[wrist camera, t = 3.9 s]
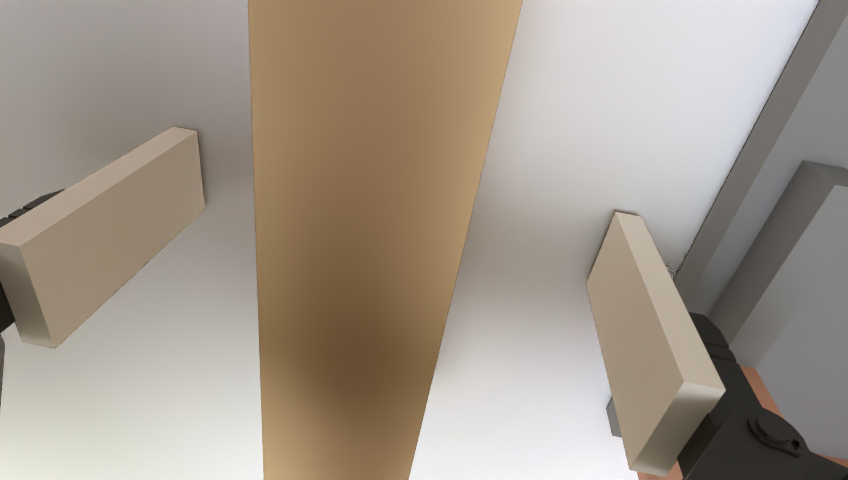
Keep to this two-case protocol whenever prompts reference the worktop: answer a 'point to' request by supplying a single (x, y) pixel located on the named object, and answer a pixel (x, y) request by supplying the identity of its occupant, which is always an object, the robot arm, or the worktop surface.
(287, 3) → the oak slat
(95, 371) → the worktop surface
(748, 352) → the rail
